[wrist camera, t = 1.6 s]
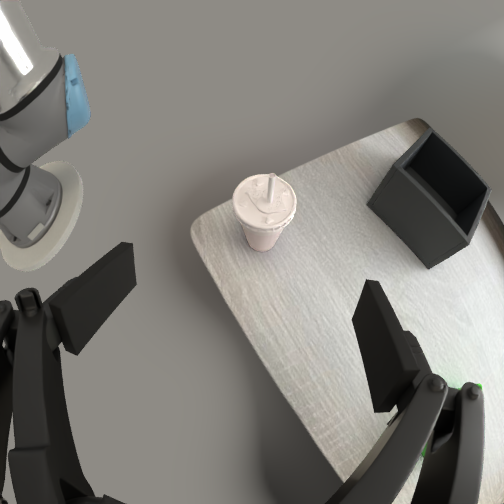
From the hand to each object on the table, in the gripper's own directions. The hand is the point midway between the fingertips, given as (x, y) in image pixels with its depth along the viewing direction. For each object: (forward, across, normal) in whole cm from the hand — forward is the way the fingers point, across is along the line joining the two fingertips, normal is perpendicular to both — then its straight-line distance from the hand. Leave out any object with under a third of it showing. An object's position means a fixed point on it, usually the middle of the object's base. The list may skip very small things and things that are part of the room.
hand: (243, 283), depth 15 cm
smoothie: (+21, 0, -6) cm, 22 cm away
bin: (+27, +24, +1) cm, 36 cm away
